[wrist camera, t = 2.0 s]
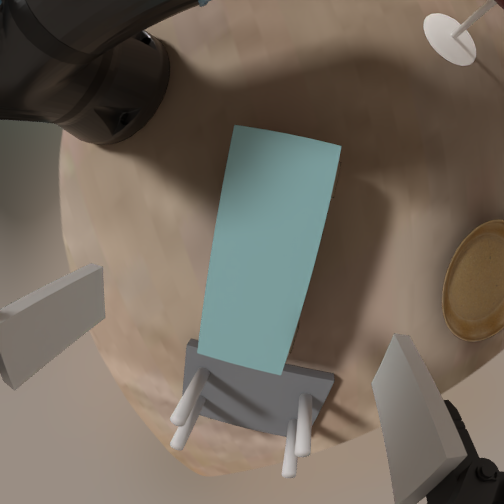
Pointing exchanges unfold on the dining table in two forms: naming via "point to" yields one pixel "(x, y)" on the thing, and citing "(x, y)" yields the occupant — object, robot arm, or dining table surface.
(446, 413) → the robot arm
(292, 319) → the shelf board
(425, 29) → the wineglass
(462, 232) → the dining table surface
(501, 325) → the plant saucer
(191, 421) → the peg stand
